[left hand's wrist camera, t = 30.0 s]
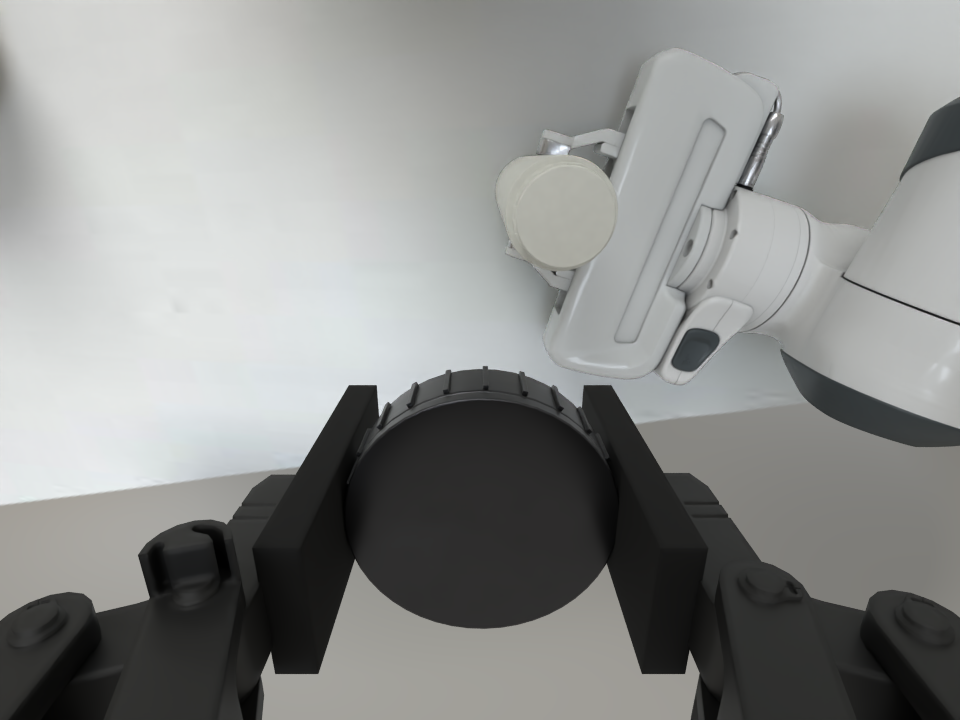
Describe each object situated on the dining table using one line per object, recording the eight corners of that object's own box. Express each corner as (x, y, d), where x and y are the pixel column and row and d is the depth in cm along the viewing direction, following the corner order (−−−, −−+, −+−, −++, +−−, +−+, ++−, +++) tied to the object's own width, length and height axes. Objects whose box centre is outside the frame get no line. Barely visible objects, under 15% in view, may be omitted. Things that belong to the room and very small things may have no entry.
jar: (547, 143, 38) (601, 132, 21) (572, 208, 40) (642, 247, 23) (484, 174, 39) (486, 188, 22) (511, 237, 41) (533, 296, 23)
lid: (317, 522, 13) (295, 569, 11) (426, 317, 11) (417, 341, 9) (525, 611, 14) (531, 665, 12) (656, 436, 12) (681, 475, 10)
